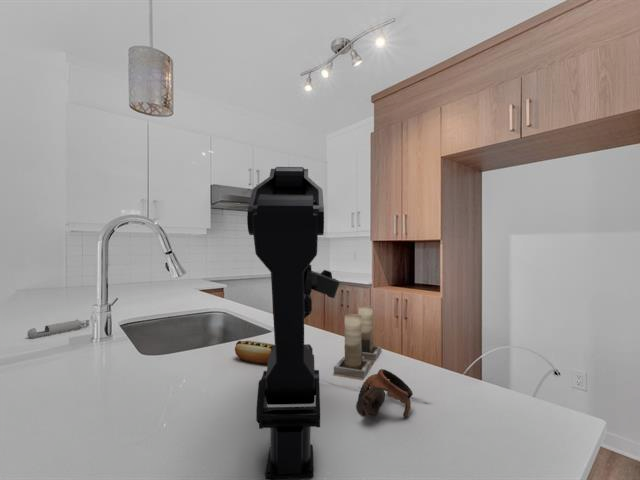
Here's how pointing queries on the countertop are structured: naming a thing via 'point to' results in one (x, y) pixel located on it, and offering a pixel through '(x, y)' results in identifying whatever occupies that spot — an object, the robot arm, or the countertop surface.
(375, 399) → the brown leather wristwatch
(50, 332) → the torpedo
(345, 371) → the double slot holder
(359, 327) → the beige round canister
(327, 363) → the countertop surface
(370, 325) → the long tan cylinder
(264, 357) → the hot dog
